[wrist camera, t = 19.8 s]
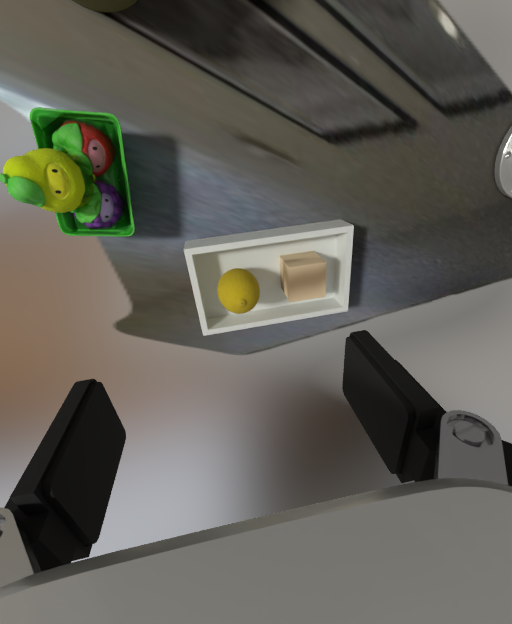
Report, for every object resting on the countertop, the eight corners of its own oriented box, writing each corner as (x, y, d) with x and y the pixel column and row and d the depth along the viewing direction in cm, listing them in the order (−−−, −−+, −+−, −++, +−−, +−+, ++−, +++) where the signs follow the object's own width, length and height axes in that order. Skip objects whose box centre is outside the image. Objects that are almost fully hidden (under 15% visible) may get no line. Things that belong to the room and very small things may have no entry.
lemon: (249, 299, 43) (258, 326, 36) (212, 293, 41) (214, 320, 34) (258, 265, 40) (270, 286, 33) (220, 257, 39) (224, 278, 32)
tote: (340, 219, 40) (353, 225, 36) (336, 299, 46) (347, 310, 42) (185, 240, 38) (183, 249, 34) (203, 321, 44) (203, 335, 40)
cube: (313, 282, 43) (325, 296, 39) (280, 287, 43) (289, 302, 38) (313, 250, 41) (326, 261, 36) (279, 255, 40) (288, 267, 36)
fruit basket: (144, 227, 36) (122, 253, 26) (68, 225, 35) (14, 252, 25) (130, 120, 31) (97, 102, 21) (39, 112, 29) (-43, 90, 20)
